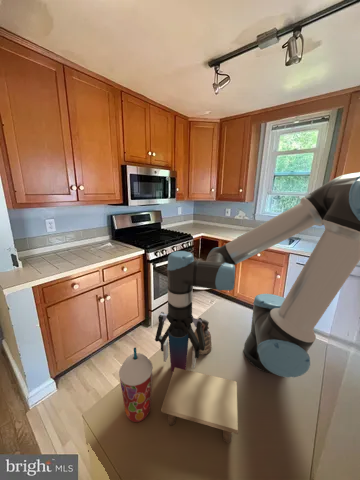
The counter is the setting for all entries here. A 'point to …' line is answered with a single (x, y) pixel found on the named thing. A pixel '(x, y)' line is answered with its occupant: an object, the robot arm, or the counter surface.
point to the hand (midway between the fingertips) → (179, 361)
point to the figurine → (205, 337)
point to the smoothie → (136, 386)
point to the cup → (178, 348)
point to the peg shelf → (202, 401)
